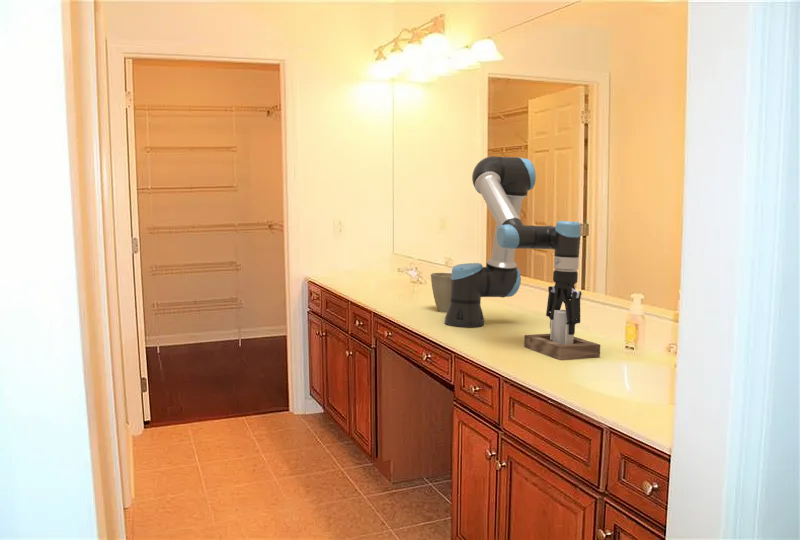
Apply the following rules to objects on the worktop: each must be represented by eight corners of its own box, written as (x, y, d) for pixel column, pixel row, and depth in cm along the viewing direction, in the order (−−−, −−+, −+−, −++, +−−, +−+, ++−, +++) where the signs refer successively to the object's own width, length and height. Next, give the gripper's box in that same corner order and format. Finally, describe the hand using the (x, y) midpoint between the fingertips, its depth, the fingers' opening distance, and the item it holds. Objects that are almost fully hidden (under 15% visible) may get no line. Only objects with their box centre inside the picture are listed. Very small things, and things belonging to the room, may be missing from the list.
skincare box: (570, 351, 207) (573, 313, 206) (556, 350, 207) (559, 312, 206) (564, 346, 213) (567, 309, 212) (550, 346, 213) (553, 309, 212)
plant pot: (425, 312, 281) (426, 275, 279) (434, 307, 295) (435, 272, 293) (459, 315, 276) (461, 277, 275) (466, 310, 290) (468, 274, 289)
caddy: (523, 347, 216) (524, 335, 215) (561, 344, 222) (562, 333, 221) (560, 360, 198) (560, 347, 198) (599, 357, 204) (600, 344, 204)
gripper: (537, 267, 215) (533, 336, 217) (576, 273, 197) (571, 349, 199) (556, 267, 218) (551, 335, 220) (596, 273, 200) (591, 347, 202)
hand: (561, 341), depth 210 cm, fingers closed on skincare box, 7 cm apart
